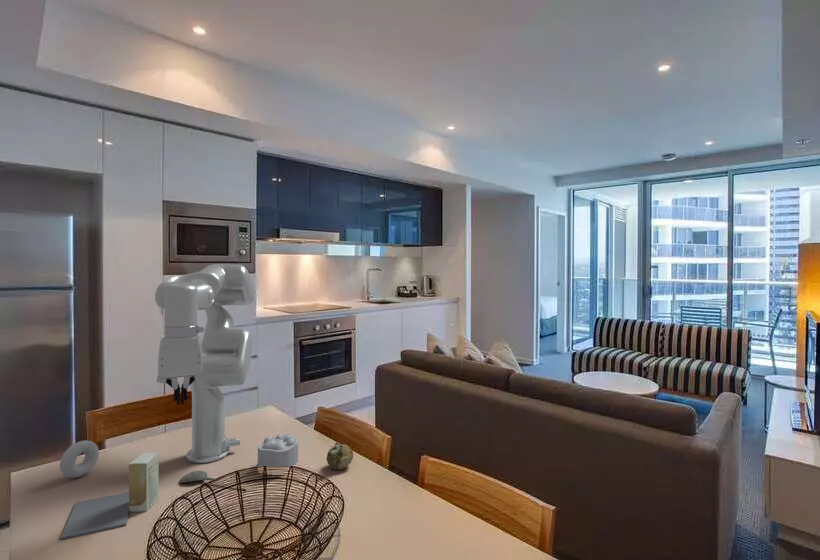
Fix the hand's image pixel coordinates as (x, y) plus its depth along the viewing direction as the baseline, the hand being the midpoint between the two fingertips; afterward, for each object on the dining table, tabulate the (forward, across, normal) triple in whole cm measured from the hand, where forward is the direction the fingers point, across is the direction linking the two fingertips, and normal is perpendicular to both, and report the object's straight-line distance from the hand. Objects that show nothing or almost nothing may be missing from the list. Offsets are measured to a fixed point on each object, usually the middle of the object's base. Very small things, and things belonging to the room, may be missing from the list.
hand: (180, 403), depth 111 cm
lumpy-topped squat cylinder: (+25, -27, -8) cm, 38 cm away
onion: (+25, -43, +1) cm, 50 cm away
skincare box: (+25, +8, 0) cm, 26 cm away
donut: (+25, +25, -25) cm, 43 cm away
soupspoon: (+26, -8, -4) cm, 27 cm away
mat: (+25, +17, 0) cm, 30 cm away
